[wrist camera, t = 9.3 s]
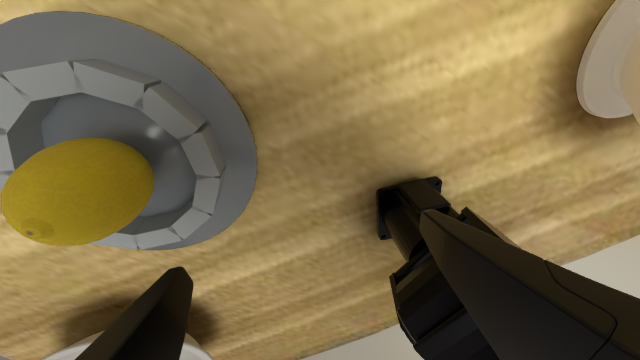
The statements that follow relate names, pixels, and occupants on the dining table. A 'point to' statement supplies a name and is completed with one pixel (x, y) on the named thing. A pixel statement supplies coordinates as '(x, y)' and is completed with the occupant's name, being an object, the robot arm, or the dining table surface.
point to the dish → (191, 354)
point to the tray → (129, 118)
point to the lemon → (77, 191)
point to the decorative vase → (612, 64)
